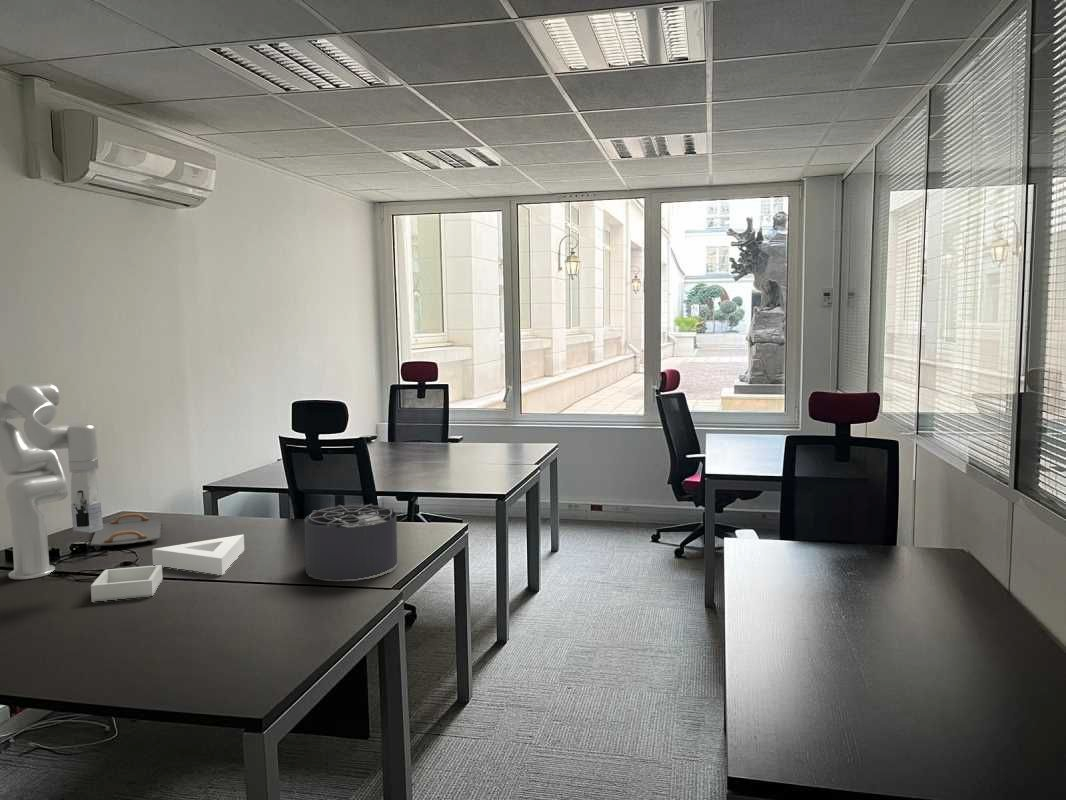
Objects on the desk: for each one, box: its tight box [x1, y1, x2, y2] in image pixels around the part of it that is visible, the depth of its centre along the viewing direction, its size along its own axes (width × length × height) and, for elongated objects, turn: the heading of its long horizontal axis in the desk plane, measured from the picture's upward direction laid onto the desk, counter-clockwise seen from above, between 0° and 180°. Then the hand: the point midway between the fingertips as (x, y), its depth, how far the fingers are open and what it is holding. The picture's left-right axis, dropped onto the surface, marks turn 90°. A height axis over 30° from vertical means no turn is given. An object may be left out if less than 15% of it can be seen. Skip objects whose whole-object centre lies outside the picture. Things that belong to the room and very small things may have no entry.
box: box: [90, 565, 164, 603], centre depth 230 cm, size 16×16×5 cm
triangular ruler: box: [151, 534, 245, 576], centre depth 262 cm, size 30×26×6 cm
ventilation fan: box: [304, 503, 398, 580], centre depth 251 cm, size 30×18×30 cm
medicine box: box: [70, 500, 104, 534], centre depth 230 cm, size 8×4×9 cm, turn 65°
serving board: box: [90, 512, 162, 550], centre depth 293 cm, size 39×23×6 cm, turn 25°
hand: (87, 522), depth 230 cm, fingers closed on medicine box, 8 cm apart
